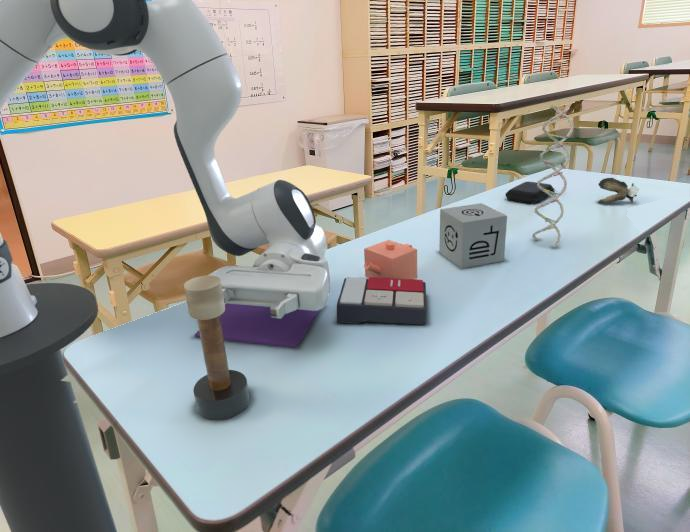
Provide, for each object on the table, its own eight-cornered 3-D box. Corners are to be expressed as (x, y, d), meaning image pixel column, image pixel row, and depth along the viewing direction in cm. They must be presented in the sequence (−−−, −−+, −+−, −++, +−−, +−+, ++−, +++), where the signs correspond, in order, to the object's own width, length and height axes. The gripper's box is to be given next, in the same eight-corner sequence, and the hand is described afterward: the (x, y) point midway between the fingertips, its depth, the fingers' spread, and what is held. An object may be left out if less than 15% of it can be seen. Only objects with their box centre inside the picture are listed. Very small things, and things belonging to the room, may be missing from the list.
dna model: (567, 246, 115) (584, 105, 104) (543, 250, 114) (558, 108, 102) (547, 236, 121) (561, 103, 110) (524, 241, 119) (536, 105, 108)
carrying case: (538, 206, 143) (559, 194, 153) (539, 195, 142) (560, 183, 152) (502, 200, 150) (524, 189, 160) (503, 190, 148) (525, 179, 158)
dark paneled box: (427, 305, 85) (336, 300, 87) (425, 328, 87) (336, 322, 88) (425, 277, 95) (344, 273, 97) (424, 298, 97) (344, 294, 98)
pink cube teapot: (353, 286, 102) (351, 247, 99) (396, 268, 109) (395, 231, 106) (380, 298, 96) (379, 257, 93) (424, 279, 103) (424, 240, 100)
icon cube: (503, 260, 110) (507, 215, 106) (461, 268, 107) (463, 222, 103) (479, 245, 118) (481, 203, 114) (439, 252, 116) (440, 209, 112)
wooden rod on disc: (186, 416, 68) (160, 293, 61) (212, 384, 74) (191, 269, 67) (235, 423, 66) (214, 297, 59) (257, 390, 72) (241, 272, 65)
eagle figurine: (626, 192, 146) (594, 187, 147) (639, 175, 140) (606, 170, 141) (629, 213, 142) (596, 208, 143) (643, 196, 136) (609, 191, 137)
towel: (195, 337, 87) (194, 334, 87) (232, 299, 99) (232, 296, 99) (296, 347, 82) (295, 344, 82) (322, 307, 95) (322, 304, 94)
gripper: (221, 252, 89) (177, 286, 76) (336, 258, 83) (308, 296, 71) (226, 285, 91) (184, 324, 79) (338, 293, 86) (312, 336, 74)
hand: (244, 311), depth 75 cm, fingers open, 8 cm apart
